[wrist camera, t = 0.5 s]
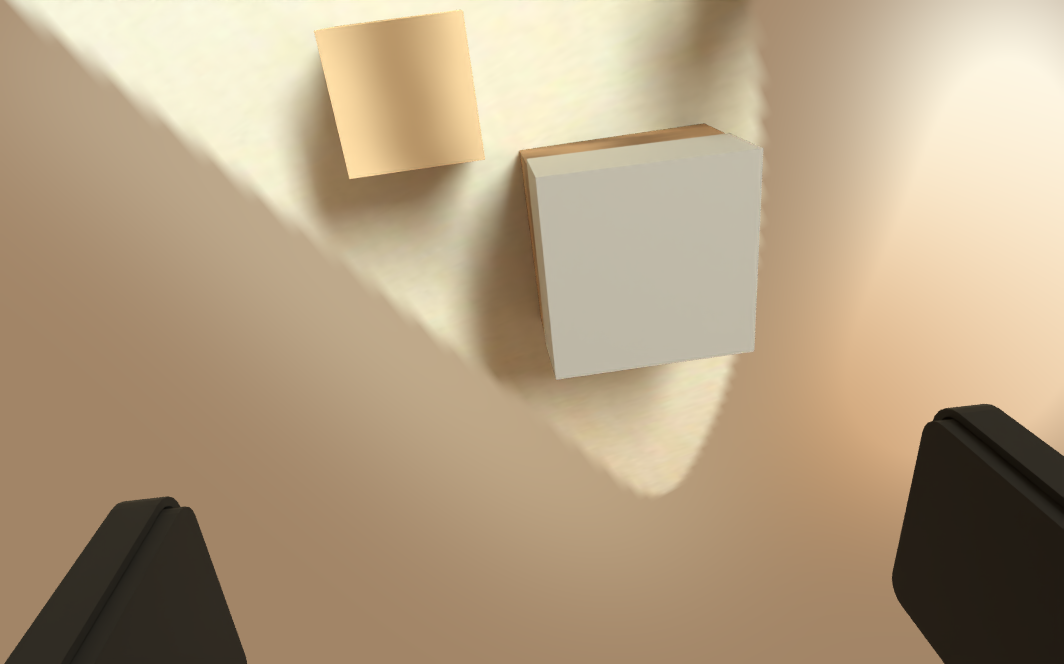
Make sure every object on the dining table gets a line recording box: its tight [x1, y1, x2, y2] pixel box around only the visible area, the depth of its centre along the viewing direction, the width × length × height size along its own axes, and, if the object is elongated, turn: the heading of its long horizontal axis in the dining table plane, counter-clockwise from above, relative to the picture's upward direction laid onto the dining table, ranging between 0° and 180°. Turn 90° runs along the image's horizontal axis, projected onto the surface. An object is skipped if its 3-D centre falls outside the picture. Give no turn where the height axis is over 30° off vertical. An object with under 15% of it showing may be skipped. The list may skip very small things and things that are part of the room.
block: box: [314, 10, 485, 179], centre depth 31 cm, size 6×6×6 cm
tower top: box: [526, 133, 763, 380], centre depth 33 cm, size 10×10×4 cm
